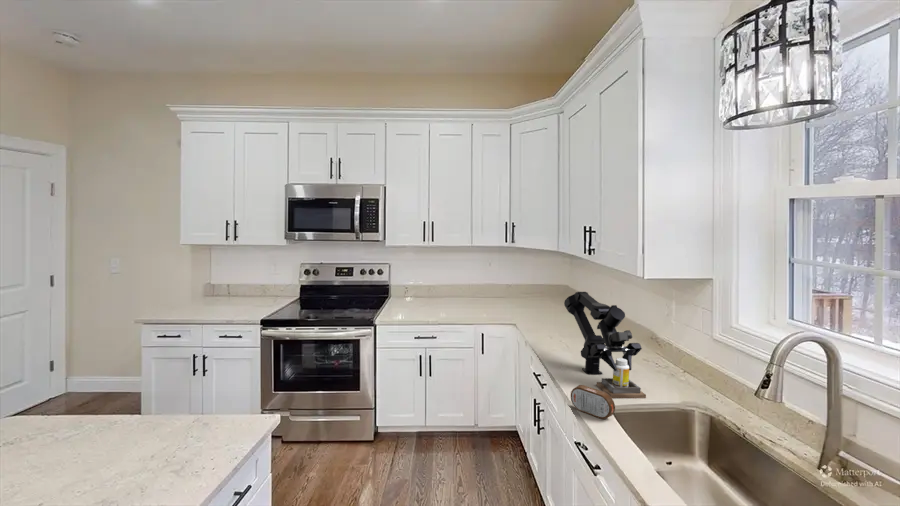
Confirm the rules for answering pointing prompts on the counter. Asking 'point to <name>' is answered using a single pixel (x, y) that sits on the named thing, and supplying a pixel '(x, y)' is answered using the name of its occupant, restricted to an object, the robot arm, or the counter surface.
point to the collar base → (620, 389)
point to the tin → (592, 401)
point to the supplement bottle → (621, 373)
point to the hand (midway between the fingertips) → (623, 370)
